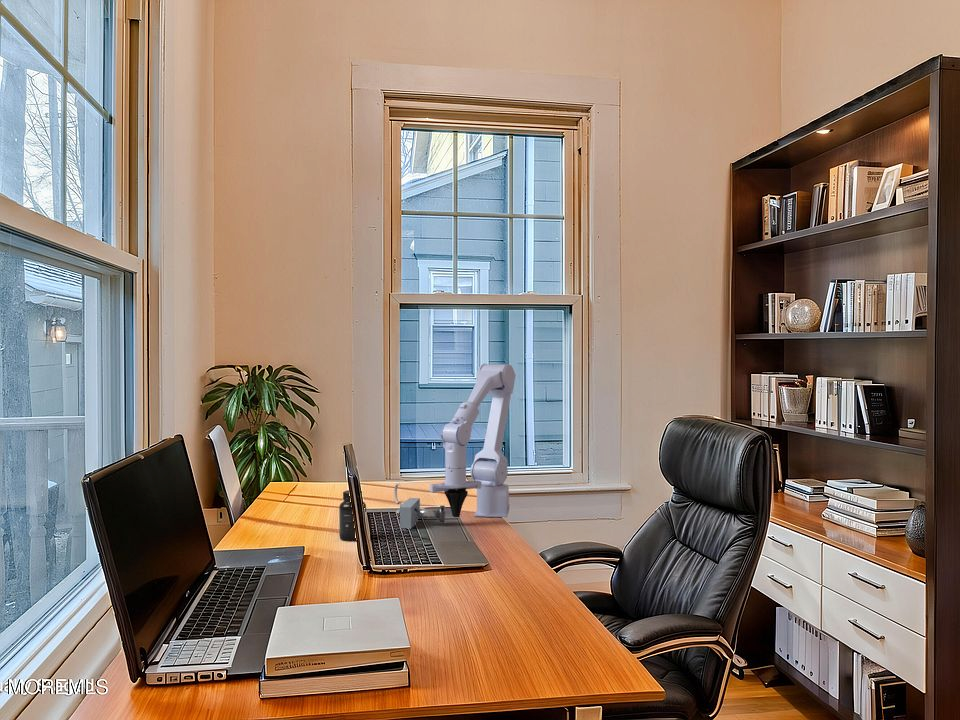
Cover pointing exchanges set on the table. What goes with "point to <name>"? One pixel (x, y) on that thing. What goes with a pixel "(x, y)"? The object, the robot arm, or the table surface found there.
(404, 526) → the hitch block
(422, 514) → the pin
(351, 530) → the supplement bottle
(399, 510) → the hook
